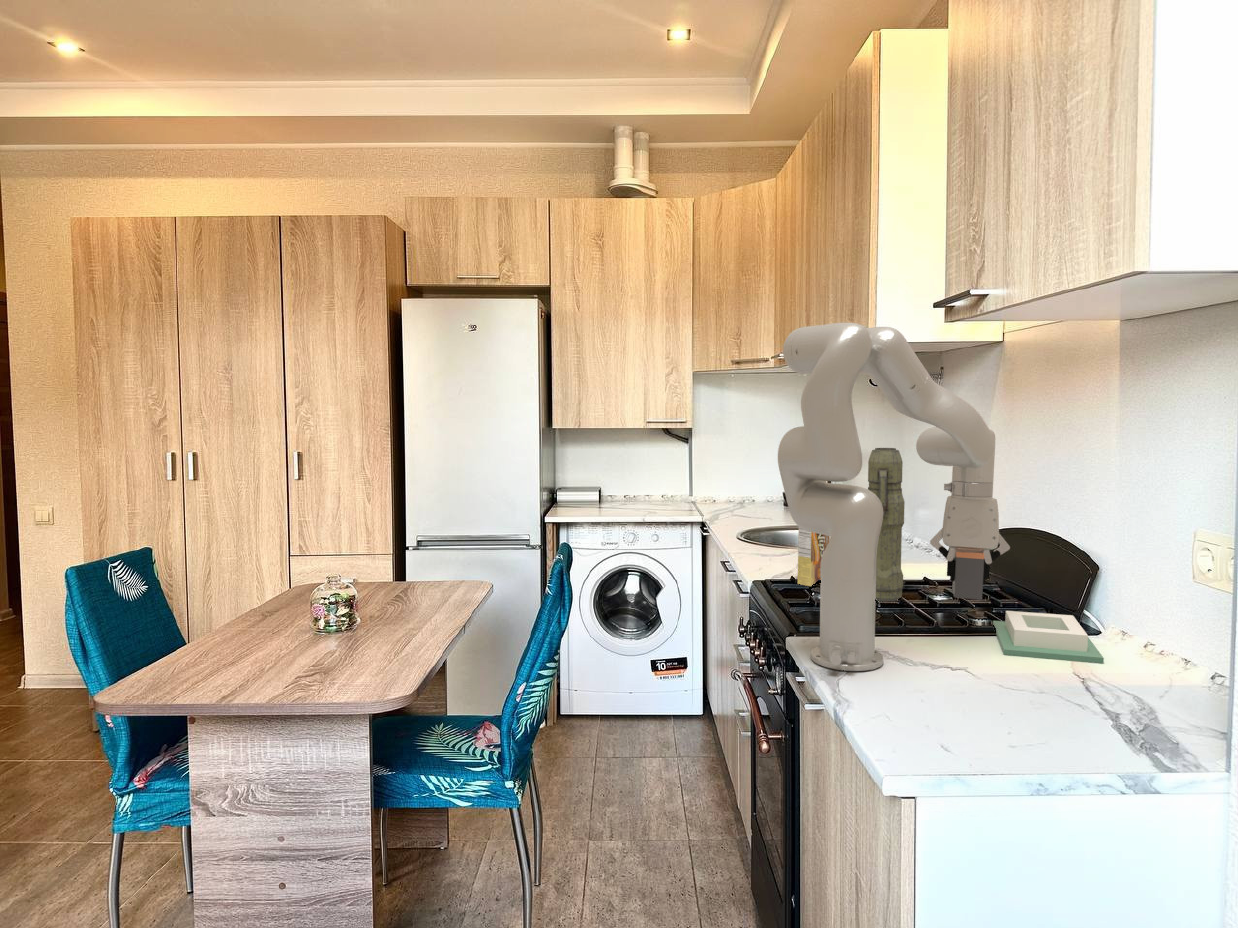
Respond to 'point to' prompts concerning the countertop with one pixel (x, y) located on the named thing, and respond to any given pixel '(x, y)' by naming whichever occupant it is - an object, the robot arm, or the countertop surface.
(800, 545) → the candy box
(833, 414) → the robot arm
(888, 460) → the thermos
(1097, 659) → the board
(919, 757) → the countertop surface
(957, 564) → the plug
